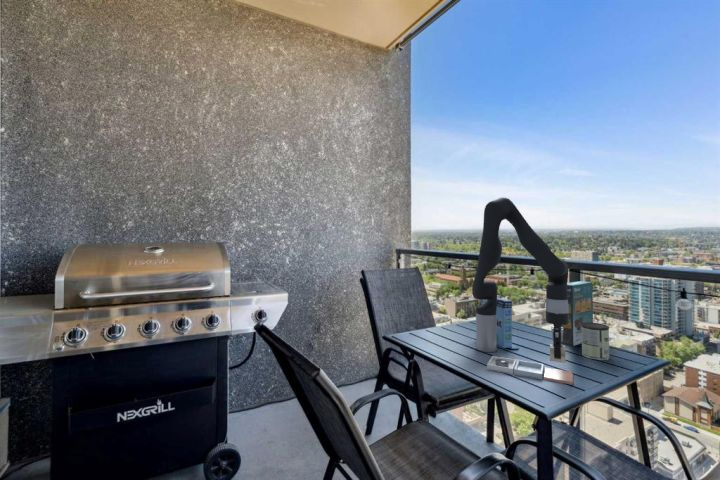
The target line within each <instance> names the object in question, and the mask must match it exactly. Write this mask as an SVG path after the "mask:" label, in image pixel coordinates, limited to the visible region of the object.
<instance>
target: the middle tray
mask: <svg viewBox="0 0 720 480" xmlns="http://www.w3.org/2000/svg"><path fill="white" fill-rule="evenodd" d="M516 360H517V363H516V365H515V368H514V373H513V375H514V376H520V377H525V378H530V379H535V380H541V381H542V380H543V378H544V371H545V367H544V363H542V362H541V363H539V362H535V361H534V362H533V361H528V360H521V359H516Z"/></svg>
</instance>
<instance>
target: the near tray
mask: <svg viewBox="0 0 720 480" xmlns="http://www.w3.org/2000/svg"><path fill="white" fill-rule="evenodd" d="M496 359H504V360H507V361H509V367H502V366H496ZM517 360H518V359H517V358H516V359H515V358H508V357H501V356H497V355H492V356H491V358H489V360H488V362H487V364H486V371H491V372H496V373H502V374H508V375H514V368H515V365H516V363H517Z"/></svg>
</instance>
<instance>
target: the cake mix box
mask: <svg viewBox="0 0 720 480" xmlns="http://www.w3.org/2000/svg"><path fill="white" fill-rule="evenodd" d="M593 290H594V289H593V281H582V280H580V281H572V282H567V294H568V299H567V300H568V307H569V323H568V324H567V325H561V326H562V327H561V328H563V341H562V343H561V344H562V345H568V346H572V347H574V346H577V345H580V344H582V326H581V323H586V322H590V323H594V305H593V304H594V301H593V300H594V299H593V298H594V297H593V296H594V295H593V293H594V291H593Z"/></svg>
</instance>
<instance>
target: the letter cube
mask: <svg viewBox="0 0 720 480" xmlns="http://www.w3.org/2000/svg"><path fill="white" fill-rule="evenodd" d="M566 359H567V358H566V346H565V345H562V347H561V358H556V357H554V347H553V344H552V343H550V344H549V361H551V362H557V363H562V364H566Z"/></svg>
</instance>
